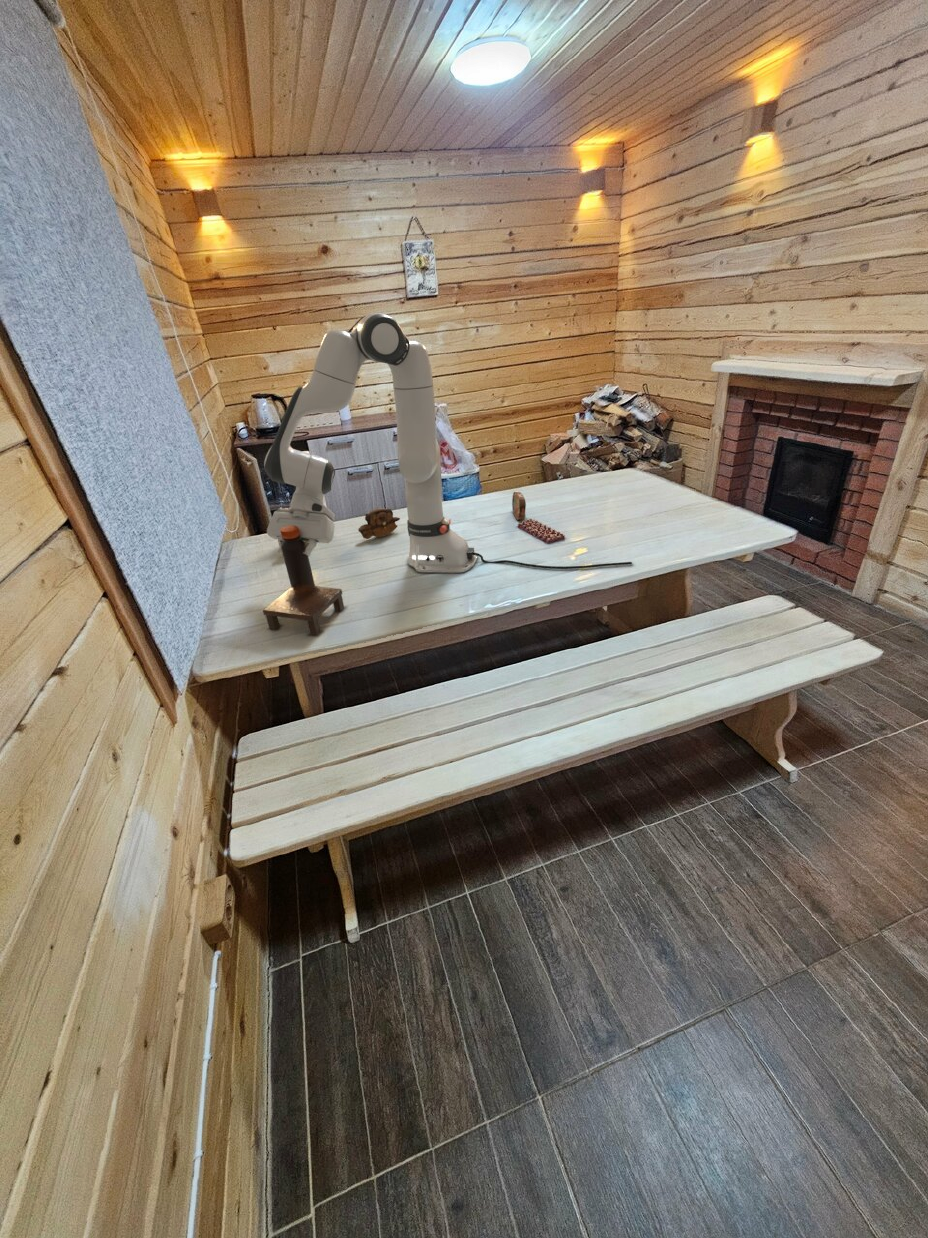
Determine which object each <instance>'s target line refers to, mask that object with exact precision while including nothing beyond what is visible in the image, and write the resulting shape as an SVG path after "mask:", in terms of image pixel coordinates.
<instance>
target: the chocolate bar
mask: <svg viewBox="0 0 928 1238" xmlns="http://www.w3.org/2000/svg"><path fill="white" fill-rule="evenodd" d="M521 521H522V522H519V523H517V529H520V530H522V531H524V532H526V533H528V534H529V535H532V537H535V538H537V539H539V540H541V541H542V542H544V543H546V544H550V543H555V542H557V541H561V540H565V537H566V535H565V534H564V533H563V532H561V531H557V530H556V529H555V528H551V526H547V524H544V523H542V522H539V521H538V520H536V519H532V518H529V519H526V520H521Z"/></svg>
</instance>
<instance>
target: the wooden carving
mask: <svg viewBox="0 0 928 1238" xmlns="http://www.w3.org/2000/svg"><path fill="white" fill-rule="evenodd" d="M400 519H401V518H400V517H397V516H394V512H393V510H392V509H391V508H375V509H373V510H370V512H368V513H365V517H364V520H365V521H366V524H362V525H360V526H359V528H358V529H357V530H358V532H359V533H360V534H361V536H362V538H363V539H366V540H368V539H370V538H372V537H375V538H382V537H386V536H388V535H390V534H392V533H393V532H394V531H395V530H397V528H398V524H397V522H399V521H400Z"/></svg>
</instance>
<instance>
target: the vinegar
mask: <svg viewBox="0 0 928 1238" xmlns="http://www.w3.org/2000/svg"><path fill="white" fill-rule="evenodd" d="M280 531H281V535H282V538H283V540H284V543H283V544H282V546H281V549H282V553H283V554H282V553H281V554H282V556H283V561H284V565H285V568H286V571H287V576H288V579H289V583H290V588H291V587H292V586H293V585H294V584H300V585H309V586H316V583H315V580H314V576H313V571H312V567H311V562H310V559H309V558H310V556H305V555H303V550H304V548H306V544H305V542H304V541H302V540H301V539H300V538H299V537H300V533H299V529H298V527H297V526H286V527H283V528H282V529H281V530H280Z"/></svg>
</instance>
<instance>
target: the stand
mask: <svg viewBox="0 0 928 1238" xmlns="http://www.w3.org/2000/svg"><path fill="white" fill-rule="evenodd" d="M332 604H333V609H334V611H335V612H342V611H343V610H344V609H345V604H344V599H343V590H342V588H337V587H336V588H335V587H334V588H333V587H327V586H326V587H325V586H318V585H315V586H309V585H300V584H294V585H293V586H292V587H291V586H290V587H289V588H288V589H287V590H286V591H284V592H283V593H282V594H281V595H280V596H279V597H277V598H276V599H274V600H273V601H272V602H271V603H270V604H268V605H267V606H266V607H265V608H263V609H262V611H263V615H265V618H266V622H267V625H268V629H269V630H276V631H277V629H279V628H280V627H281V624H280V620H279V618H285V619H291V620H292V619H293V620H300V621H306V622H307V627H308V631H309V634H310V636H318V635H319V634H320V633H321V632H322V631H321V625H320V621H319V617H320V616H322V614H323V613H324V612H325V611H326V610H327V609H328V608H329V607H330V606H332Z"/></svg>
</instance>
